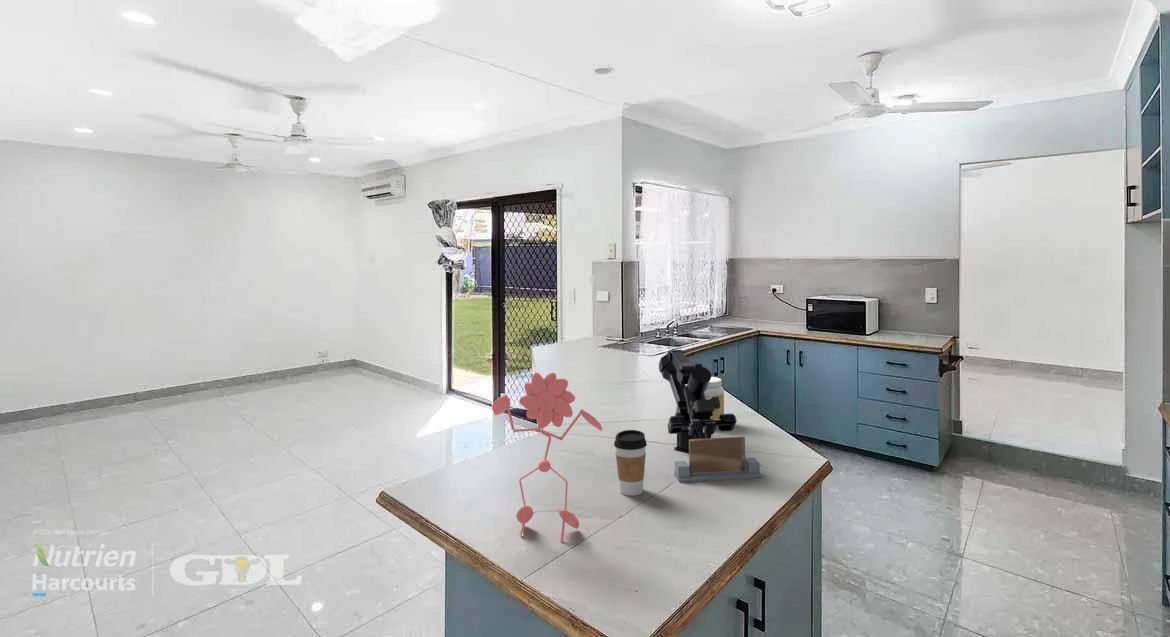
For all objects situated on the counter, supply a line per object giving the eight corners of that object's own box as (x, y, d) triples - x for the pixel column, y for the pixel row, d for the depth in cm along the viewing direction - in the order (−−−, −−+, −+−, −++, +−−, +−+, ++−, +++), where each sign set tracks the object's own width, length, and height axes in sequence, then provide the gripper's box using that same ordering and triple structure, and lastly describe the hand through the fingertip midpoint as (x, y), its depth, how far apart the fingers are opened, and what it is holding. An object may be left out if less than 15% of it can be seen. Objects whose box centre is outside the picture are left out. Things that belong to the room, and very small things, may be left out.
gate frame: (674, 475, 150) (674, 460, 150) (754, 470, 151) (754, 456, 151) (678, 482, 145) (678, 467, 145) (761, 477, 146) (761, 463, 146)
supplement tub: (688, 420, 203) (688, 375, 202) (722, 420, 201) (722, 375, 200) (690, 429, 191) (690, 382, 190) (726, 430, 189) (725, 382, 188)
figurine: (599, 548, 111) (595, 379, 109) (485, 535, 118) (479, 376, 116) (616, 517, 126) (613, 367, 124) (513, 506, 133) (508, 365, 131)
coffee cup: (650, 486, 142) (649, 430, 141) (643, 499, 134) (642, 440, 133) (619, 483, 145) (618, 428, 144) (611, 496, 137) (609, 438, 136)
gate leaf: (688, 471, 148) (688, 439, 147) (743, 468, 149) (743, 436, 148) (690, 473, 147) (690, 441, 146) (745, 470, 148) (745, 438, 147)
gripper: (669, 388, 152) (679, 438, 142) (734, 385, 153) (748, 435, 143) (663, 408, 161) (672, 457, 151) (725, 406, 162) (738, 454, 152)
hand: (707, 451), depth 149 cm, fingers closed
